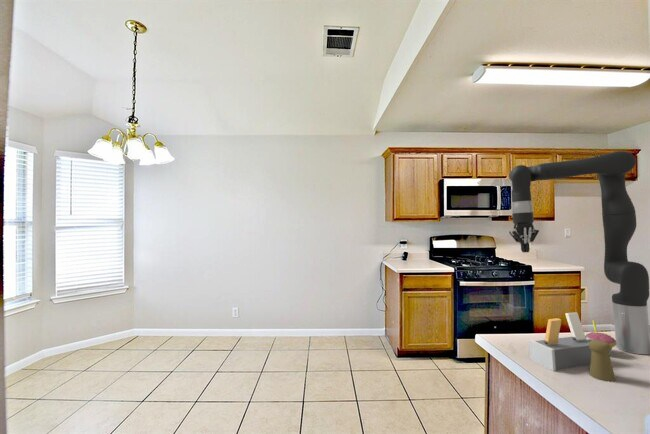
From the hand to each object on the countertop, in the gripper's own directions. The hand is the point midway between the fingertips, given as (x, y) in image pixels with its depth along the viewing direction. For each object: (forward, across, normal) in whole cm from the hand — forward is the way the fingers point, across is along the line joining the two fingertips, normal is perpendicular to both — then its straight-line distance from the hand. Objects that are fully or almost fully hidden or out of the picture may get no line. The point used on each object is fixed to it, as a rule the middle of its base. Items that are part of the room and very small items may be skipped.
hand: (525, 252), depth 126 cm
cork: (+37, -5, -31) cm, 49 cm away
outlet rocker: (+30, -12, -20) cm, 38 cm away
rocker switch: (+30, 0, -20) cm, 36 cm away
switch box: (+37, -6, -20) cm, 42 cm away
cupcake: (+37, +13, -17) cm, 43 cm away
